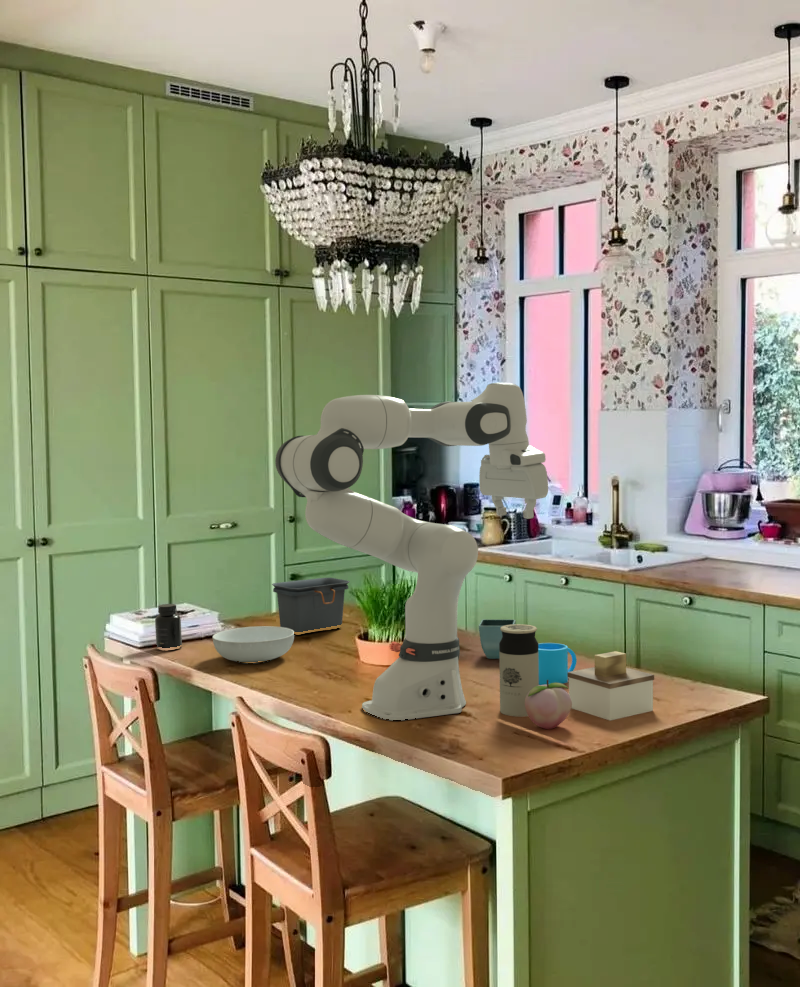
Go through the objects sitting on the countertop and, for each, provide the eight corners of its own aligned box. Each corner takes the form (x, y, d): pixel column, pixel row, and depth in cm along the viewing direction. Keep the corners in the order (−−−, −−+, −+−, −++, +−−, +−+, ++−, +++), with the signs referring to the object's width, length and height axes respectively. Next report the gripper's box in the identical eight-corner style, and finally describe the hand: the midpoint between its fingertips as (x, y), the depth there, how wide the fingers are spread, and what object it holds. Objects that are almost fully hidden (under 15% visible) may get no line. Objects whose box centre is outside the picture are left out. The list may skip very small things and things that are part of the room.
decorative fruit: (548, 721, 216) (548, 672, 216) (579, 730, 210) (578, 679, 209) (514, 729, 211) (514, 679, 210) (544, 739, 204) (544, 687, 203)
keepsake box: (610, 723, 214) (609, 688, 213) (569, 710, 224) (568, 676, 223) (652, 713, 220) (652, 679, 220) (611, 701, 230) (611, 668, 230)
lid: (609, 689, 213) (609, 664, 213) (567, 676, 224) (567, 653, 223) (654, 679, 220) (654, 655, 220) (611, 668, 230) (611, 645, 230)
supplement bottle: (166, 645, 296) (165, 602, 295) (187, 647, 293) (185, 603, 292) (150, 650, 290) (149, 606, 289) (171, 652, 287) (169, 608, 286)
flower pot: (478, 660, 271) (478, 625, 270) (482, 653, 280) (481, 618, 279) (513, 661, 269) (513, 626, 269) (516, 653, 278) (515, 619, 277)
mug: (547, 687, 243) (547, 652, 242) (525, 680, 250) (524, 645, 249) (587, 680, 249) (587, 645, 249) (564, 673, 256) (564, 639, 256)
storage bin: (327, 622, 325) (326, 575, 324) (359, 629, 313) (358, 581, 312) (268, 632, 311) (267, 583, 310) (299, 640, 300) (298, 589, 299)
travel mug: (517, 706, 227) (516, 622, 226) (546, 713, 222) (546, 627, 220) (492, 714, 222) (491, 627, 221) (521, 721, 216) (520, 633, 215)
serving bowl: (268, 647, 291) (267, 622, 291) (310, 660, 275) (309, 633, 274) (198, 659, 279) (198, 632, 278) (238, 673, 262) (237, 645, 262)
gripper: (470, 456, 246) (475, 515, 247) (528, 458, 229) (533, 522, 230) (491, 452, 249) (497, 511, 251) (550, 454, 232) (555, 517, 234)
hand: (515, 516), depth 240 cm, fingers open, 8 cm apart
